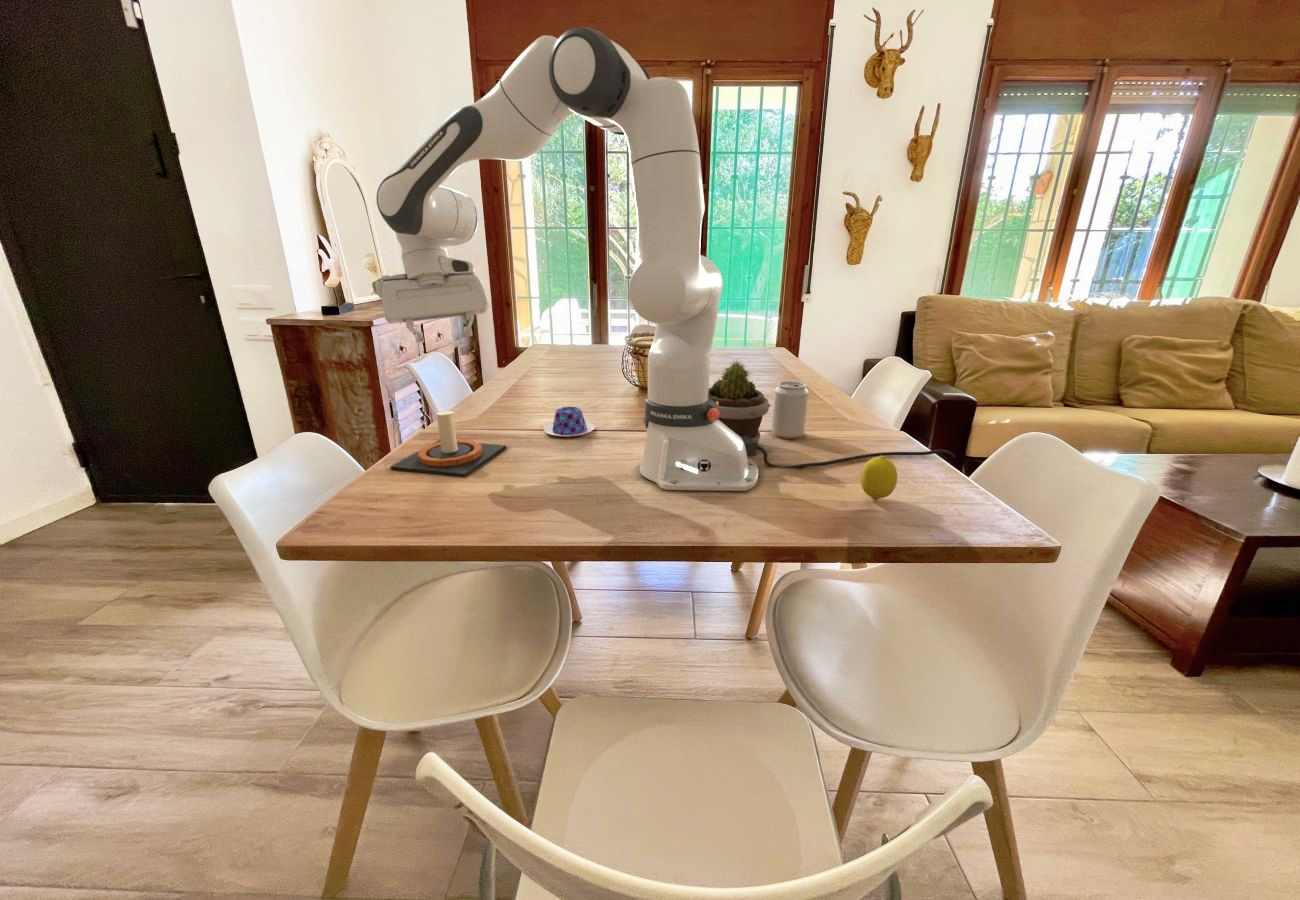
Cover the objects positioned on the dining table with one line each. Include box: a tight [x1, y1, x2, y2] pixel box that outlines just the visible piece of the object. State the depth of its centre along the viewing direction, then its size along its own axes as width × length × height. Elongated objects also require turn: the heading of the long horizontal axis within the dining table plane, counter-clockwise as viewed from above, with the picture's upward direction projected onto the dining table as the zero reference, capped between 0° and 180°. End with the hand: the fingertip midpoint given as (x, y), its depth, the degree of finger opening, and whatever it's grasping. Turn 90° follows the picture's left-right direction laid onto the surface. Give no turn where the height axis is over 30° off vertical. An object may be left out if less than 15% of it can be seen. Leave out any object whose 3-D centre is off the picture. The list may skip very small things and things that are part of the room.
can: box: [770, 380, 810, 439], centre depth 117 cm, size 8×8×12 cm
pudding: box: [543, 406, 596, 437], centre depth 121 cm, size 12×12×5 cm
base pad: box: [390, 439, 507, 478], centre depth 105 cm, size 16×16×2 cm
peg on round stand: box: [429, 410, 471, 459], centre depth 104 cm, size 8×8×9 cm
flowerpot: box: [708, 357, 771, 444], centre depth 109 cm, size 14×15×20 cm
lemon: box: [860, 456, 898, 501], centre depth 86 cm, size 6×6×8 cm
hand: (445, 339), depth 106 cm, fingers open, 8 cm apart
